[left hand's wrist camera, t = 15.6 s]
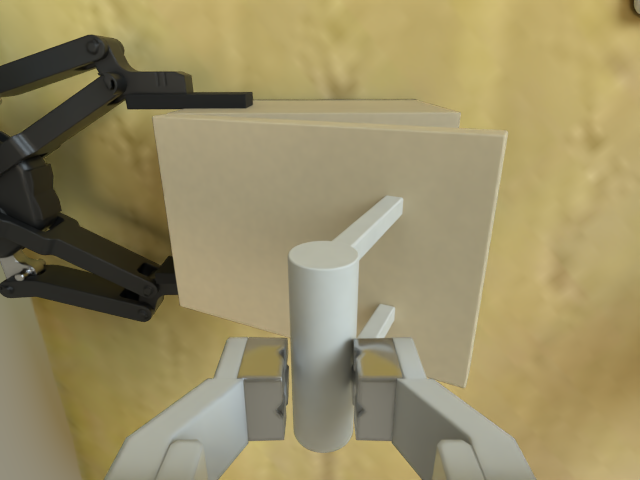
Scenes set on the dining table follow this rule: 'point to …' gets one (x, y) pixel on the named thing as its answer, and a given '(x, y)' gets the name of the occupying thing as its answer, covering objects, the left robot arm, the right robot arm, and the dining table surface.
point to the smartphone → (637, 6)
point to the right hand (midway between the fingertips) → (255, 191)
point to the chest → (343, 111)
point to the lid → (333, 241)
